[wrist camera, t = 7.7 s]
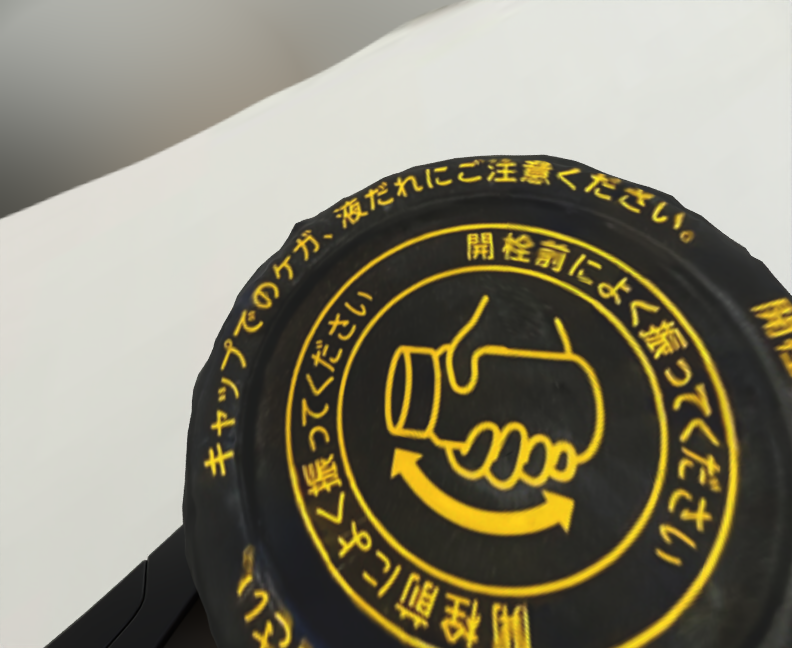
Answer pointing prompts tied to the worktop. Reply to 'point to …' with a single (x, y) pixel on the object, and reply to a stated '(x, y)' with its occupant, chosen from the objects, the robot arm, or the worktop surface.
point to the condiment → (497, 424)
